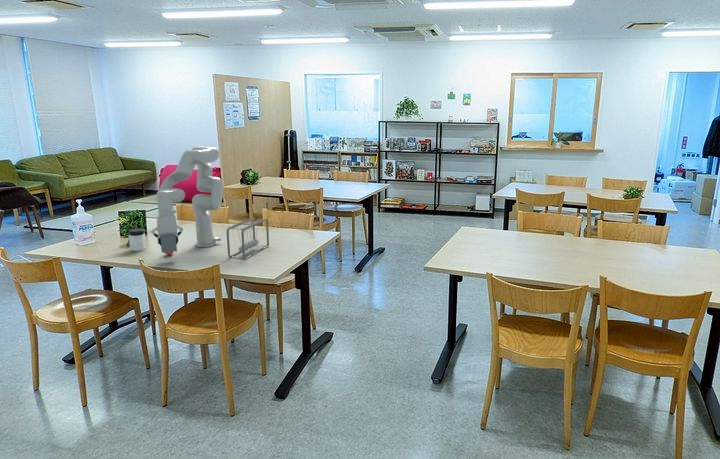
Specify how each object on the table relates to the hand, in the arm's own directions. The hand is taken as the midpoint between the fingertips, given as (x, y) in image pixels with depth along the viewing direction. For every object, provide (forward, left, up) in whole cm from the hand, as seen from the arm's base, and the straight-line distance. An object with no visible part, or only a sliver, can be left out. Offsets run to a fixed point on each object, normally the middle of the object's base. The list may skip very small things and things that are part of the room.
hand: (168, 244), depth 274 cm
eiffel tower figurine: (+20, -44, -10) cm, 49 cm away
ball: (0, -11, -7) cm, 13 cm away
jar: (+16, -31, -10) cm, 36 cm away
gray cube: (0, 0, -4) cm, 4 cm away
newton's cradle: (-44, +1, -10) cm, 45 cm away
